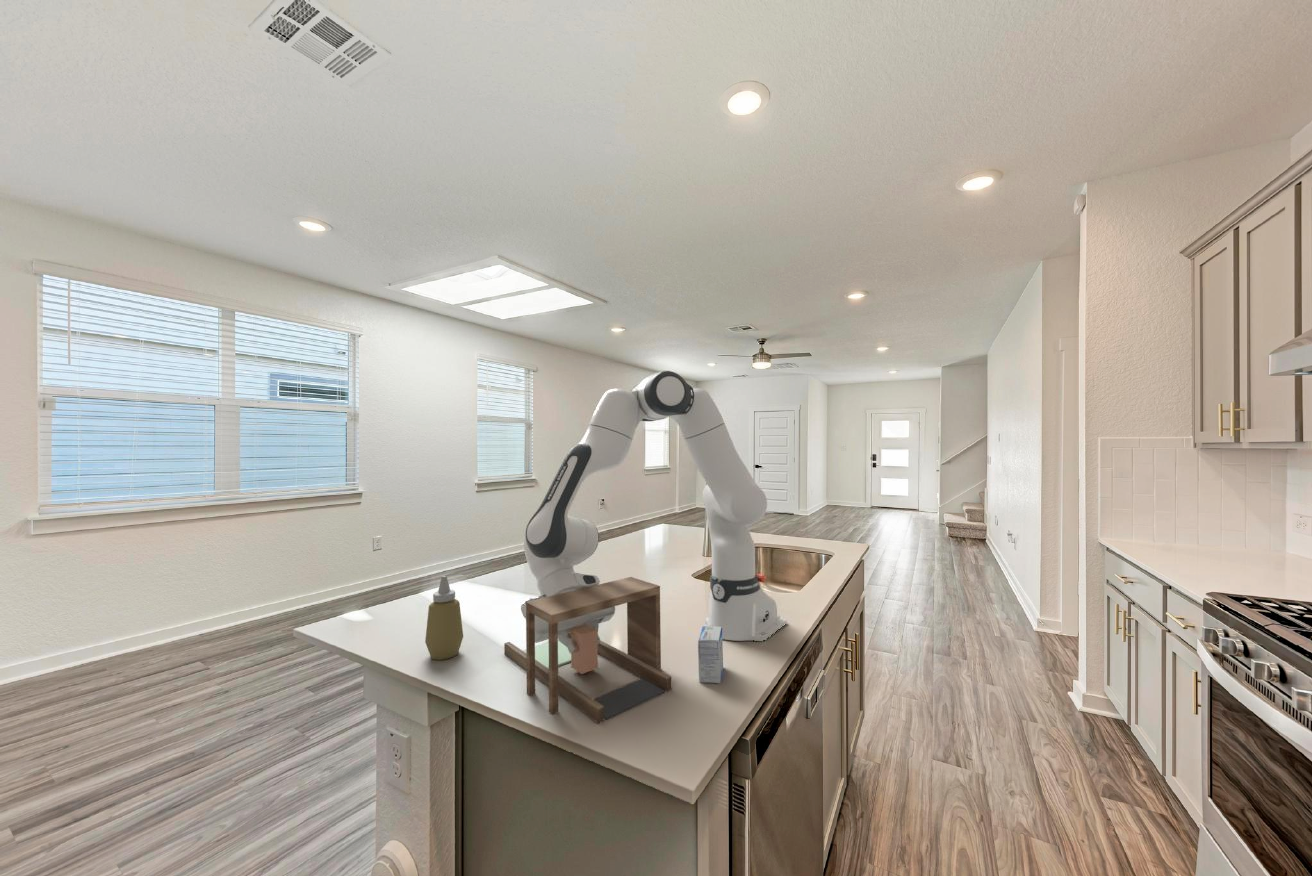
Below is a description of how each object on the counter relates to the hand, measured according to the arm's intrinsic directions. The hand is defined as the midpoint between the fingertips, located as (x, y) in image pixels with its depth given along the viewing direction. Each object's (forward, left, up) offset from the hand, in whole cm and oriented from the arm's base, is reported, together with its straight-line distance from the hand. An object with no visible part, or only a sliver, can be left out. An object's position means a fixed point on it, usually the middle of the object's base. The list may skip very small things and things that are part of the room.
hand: (585, 647), depth 102 cm
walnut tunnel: (0, -1, -5) cm, 5 cm away
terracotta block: (0, -1, -4) cm, 4 cm away
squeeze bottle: (+19, -30, -5) cm, 36 cm away
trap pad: (0, +14, -5) cm, 15 cm away
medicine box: (-19, +18, -6) cm, 27 cm away
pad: (0, -13, -5) cm, 14 cm away
